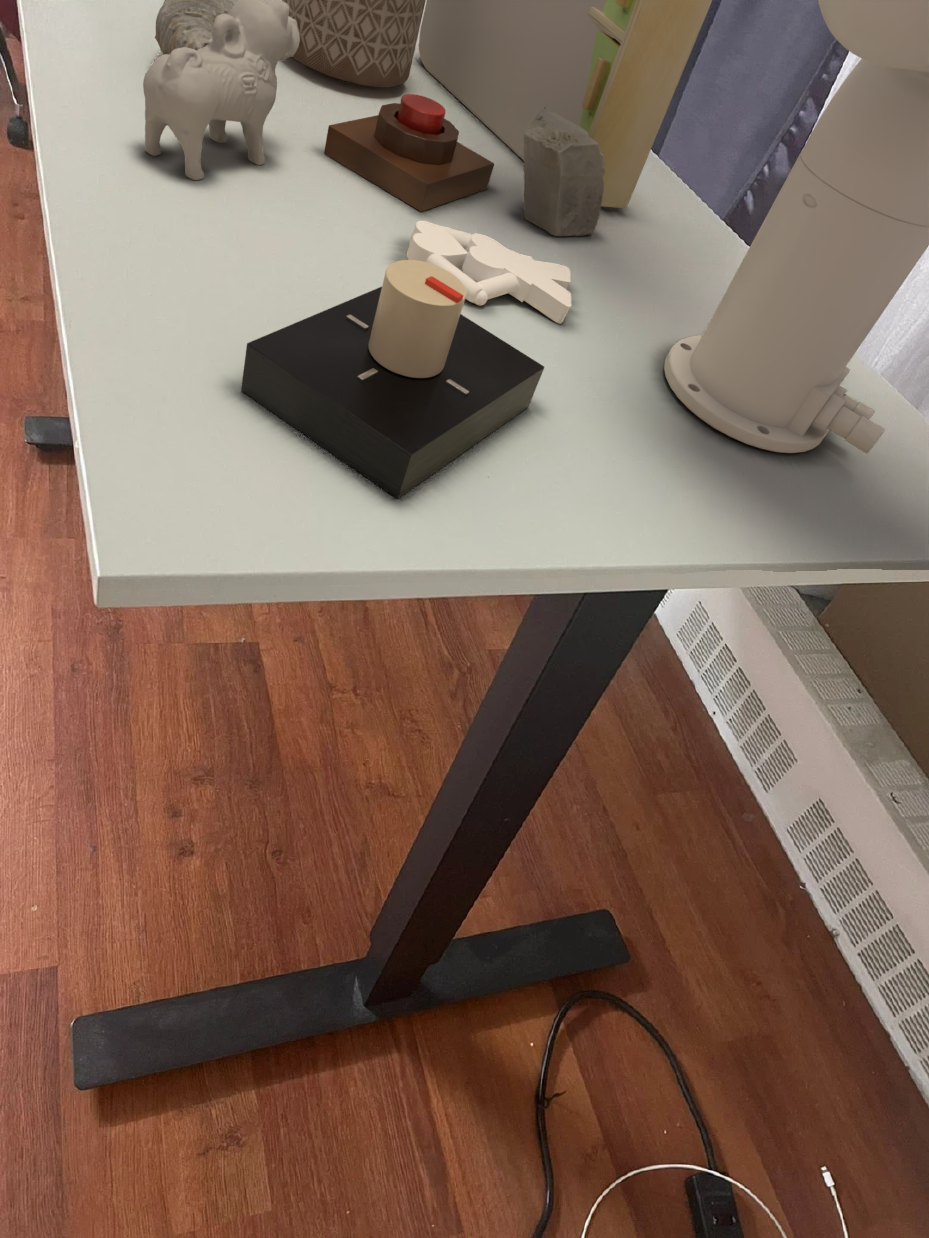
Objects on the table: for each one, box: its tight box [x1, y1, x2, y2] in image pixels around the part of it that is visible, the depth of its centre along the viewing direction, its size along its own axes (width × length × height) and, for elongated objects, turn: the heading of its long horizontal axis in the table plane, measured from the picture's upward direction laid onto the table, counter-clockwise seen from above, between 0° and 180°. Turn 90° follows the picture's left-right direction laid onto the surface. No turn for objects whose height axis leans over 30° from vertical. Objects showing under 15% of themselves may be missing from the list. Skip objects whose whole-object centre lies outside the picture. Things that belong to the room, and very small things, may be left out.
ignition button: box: [397, 93, 447, 135], centre depth 72 cm, size 4×4×2 cm
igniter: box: [323, 102, 495, 212], centre depth 74 cm, size 10×10×4 cm
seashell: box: [154, 0, 235, 55], centre depth 74 cm, size 6×14×8 cm, turn 5°
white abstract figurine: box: [406, 220, 572, 325], centre depth 65 cm, size 9×12×2 cm
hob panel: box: [240, 286, 545, 499], centre depth 52 cm, size 14×11×3 cm
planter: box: [281, 0, 427, 88], centre depth 83 cm, size 13×13×10 cm
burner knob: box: [368, 259, 466, 378], centre depth 49 cm, size 4×4×5 cm
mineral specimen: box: [523, 107, 605, 237], centre depth 73 cm, size 7×9×8 cm
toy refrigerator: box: [580, 0, 713, 209], centre depth 76 cm, size 8×7×21 cm
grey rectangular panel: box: [418, 0, 614, 161], centre depth 84 cm, size 29×8×18 cm, turn 30°
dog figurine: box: [142, 0, 300, 181], centre depth 64 cm, size 5×13×11 cm, turn 149°
